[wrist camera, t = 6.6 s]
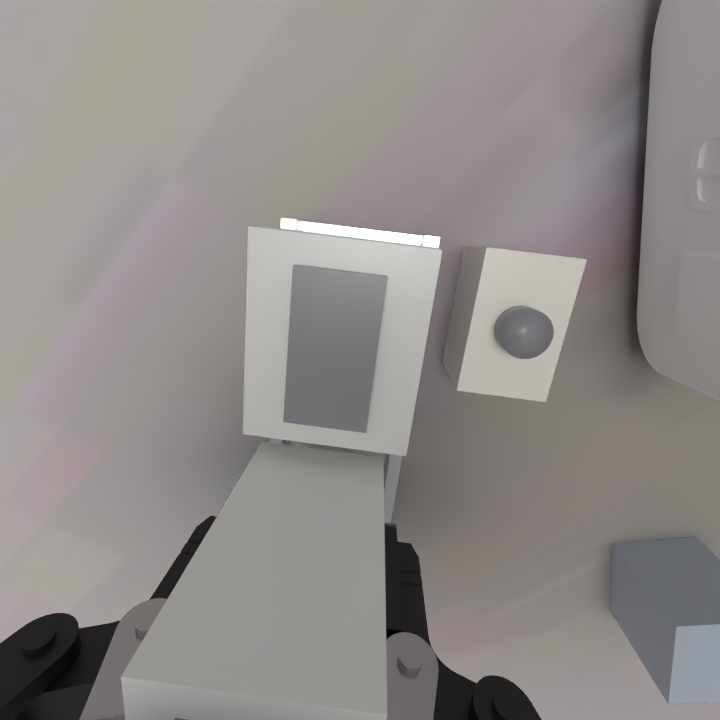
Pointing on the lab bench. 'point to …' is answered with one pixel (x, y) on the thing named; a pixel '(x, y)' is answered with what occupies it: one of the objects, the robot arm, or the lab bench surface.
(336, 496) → the block
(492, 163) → the lab bench surface
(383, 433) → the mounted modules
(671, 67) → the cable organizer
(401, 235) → the rail
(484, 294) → the sensor block
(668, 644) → the block
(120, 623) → the robot arm
